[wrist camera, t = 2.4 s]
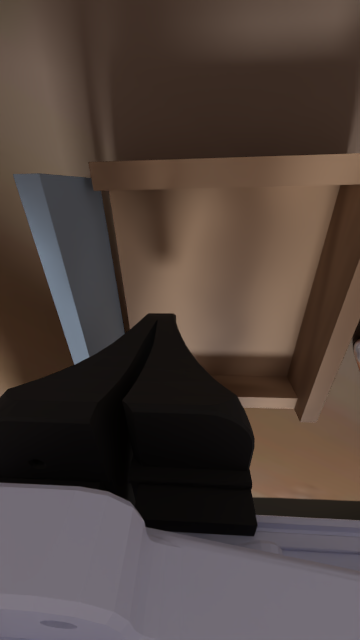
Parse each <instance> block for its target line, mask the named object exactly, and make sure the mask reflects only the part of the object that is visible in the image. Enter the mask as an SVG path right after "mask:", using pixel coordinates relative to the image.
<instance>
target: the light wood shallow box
mask: <svg viewBox="0 0 360 640" xmlns="http://www.w3.org/2000/svg"><path fill="white" fill-rule="evenodd" d="M88 163H89V168H90V174H91V179H92V185H93V190H94V191H109V195H110V201H111V208H112V214H113V221H114V228H115V234H116V241H117V247H118V254H119V260H120V267H121V273H122V280H123V286H124V293H125V300H126V306H127V313H128V319H129V326H130V329H131V328H132V327H133V326H135V325H136V324H137V323H138V322H139V321H140V320H141V319H142V318H144V317H145V316H146V315H147V314H148V313H174V314H175V315H176V323H177V326H178V329H179V332H180V334H181V336H182V338H183V340H184V342H185V344H186V346H187V347H188V349H189V350H190V352H191V353H192V355H193V356H194V357H195V359H196V360H197V361H198V362H199V364H200V365H201V366H202V367H203V368H204V369H205V370H206V371H207V372H208V373H209V374H210V375H211V376H212V377H213V378H214V379H215V380H216V381H218V382H219V383H220V384H222V385H223V386H224V387H226V388H227V389H229V390H230V391H231V392H233V393H234V394H236V395H237V396H238V398H239V400H240V402H241V404H242V406H243V407H246V408H283V409H295V412H296V414H297V416H298V418H299V420H300V422H317V420H318V418H319V415H320V413H321V410H322V408H323V406H324V403H325V401H326V398H327V396H328V394H329V391H330V389H331V387H332V384H333V382H334V379H335V377H336V375H337V372H338V370H339V367H340V365H341V363H342V360H343V358H344V356H345V353H346V351H347V348H348V346H349V344H350V341H351V339H352V337H353V334H354V332H355V329H356V327H357V325H358V322H359V320H360V153H356V154H325V155H294V156H262V157H231V158H200V159H169V160H137V161H106V162H88Z"/></svg>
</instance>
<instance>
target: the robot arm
mask: <svg viewBox="0 0 360 640" xmlns="http://www.w3.org/2000/svg"><path fill="white" fill-rule="evenodd" d="M253 451H254V435H253V431H252V428H251V425H250V422H249V420H248V417H247V415H246V413H245V410H244V408H243V406H242V404H241V402H240V400H239V398H238V396H237V395H236V394H234V393H233V392H231V391H230V390H229V389H227V388H226V387H224V386H223V385H222V384H220V383H219V382H218V381H216V380H215V379H214V378H213V377H212V376H211V375H210V374H209V373H208V372H207V371H206V370H205V369H204V368H203V367H202V366H201V365H200V364H199V362H198V361H197V360H196V359H195V357H194V356H193V355H192V353H191V352H190V350H189V349H188V347H187V346H186V344H185V342H184V340H183V338H182V336H181V334H180V332H179V329H178V326H177V323H176V315H175V314H174V313H148V314H147V315H146V316H145V317H144V318H142V319H141V320H140V321H139V322H138V323H137V324H136V325H135V326H133V327H132V328H131V329H130V330H129V331H128V332H126V333H125V334H124V335H123V336H121V337H120V338H119V339H117V340H116V341H115V342H113V343H112V344H110V345H109V346H107V347H106V348H104V349H103V350H101V351H99V352H98V353H96V354H94V355H93V356H91V357H89V358H87V359H85V360H83V361H81V362H79V363H77V364H75V365H73V366H71V367H68V368H66V369H64V370H61V371H59V372H56V373H54V374H51V375H49V376H46V377H43V378H41V379H38V380H35V381H32V382H29V383H26V384H23V385H20V386H16V387H13V388H10V389H8V390H7V391H6V392H5V393H4V394H3V395H2V396H1V397H0V640H360V520H343V519H324V518H305V517H286V516H266V515H256V514H255V509H254V504H253V498H252V493H251V489H252V480H251V475H250V470H249V467H250V463H251V459H252V455H253Z"/></svg>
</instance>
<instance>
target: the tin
mask: <svg viewBox="0 0 360 640" xmlns="http://www.w3.org/2000/svg"><path fill="white" fill-rule="evenodd" d="M354 355H355V358H356V361H357V364H358V367H359V370H360V339H359V340H357V341H356V342H355V344H354Z"/></svg>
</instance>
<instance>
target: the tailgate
mask: <svg viewBox="0 0 360 640" xmlns="http://www.w3.org/2000/svg"><path fill="white" fill-rule="evenodd" d="M13 176H14V179H15V182H16V185H17V189H18V192H19V195H20V198H21V201H22V204H23V207H24V210H25V213H26V216H27V220H28V223H29V226H30V229H31V232H32V235H33V238H34V241H35V244H36V247H37V250H38V254H39V257H40V260H41V263H42V266H43V269H44V272H45V275H46V278H47V281H48V285H49V288H50V291H51V294H52V297H53V300H54V303H55V306H56V309H57V312H58V315H59V319H60V322H61V325H62V328H63V331H64V334H65V337H66V340H67V343H68V346H69V350H70V353H71V356H72V359H73V362H74V365H75V364H77V363H79V362H81V361H83V360H85V359H87V358H89V357H91V356H93V355H94V354H96V353H98V352H99V351H101V350H103V349H104V348H106V347H107V346H109V345H110V344H112V343H113V342H115V341H116V340H117V339H119V338H120V337H121V336H123V335H124V334H125V331H124V326H123V320H122V314H121V308H120V302H119V296H118V290H117V284H116V278H115V272H114V266H113V260H112V254H111V248H110V242H109V236H108V230H107V224H106V218H105V212H104V206H103V200H102V194H101V191H94V190H93V185H92V179H91V178H85V177H74V176H62V175H50V174H13Z"/></svg>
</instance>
